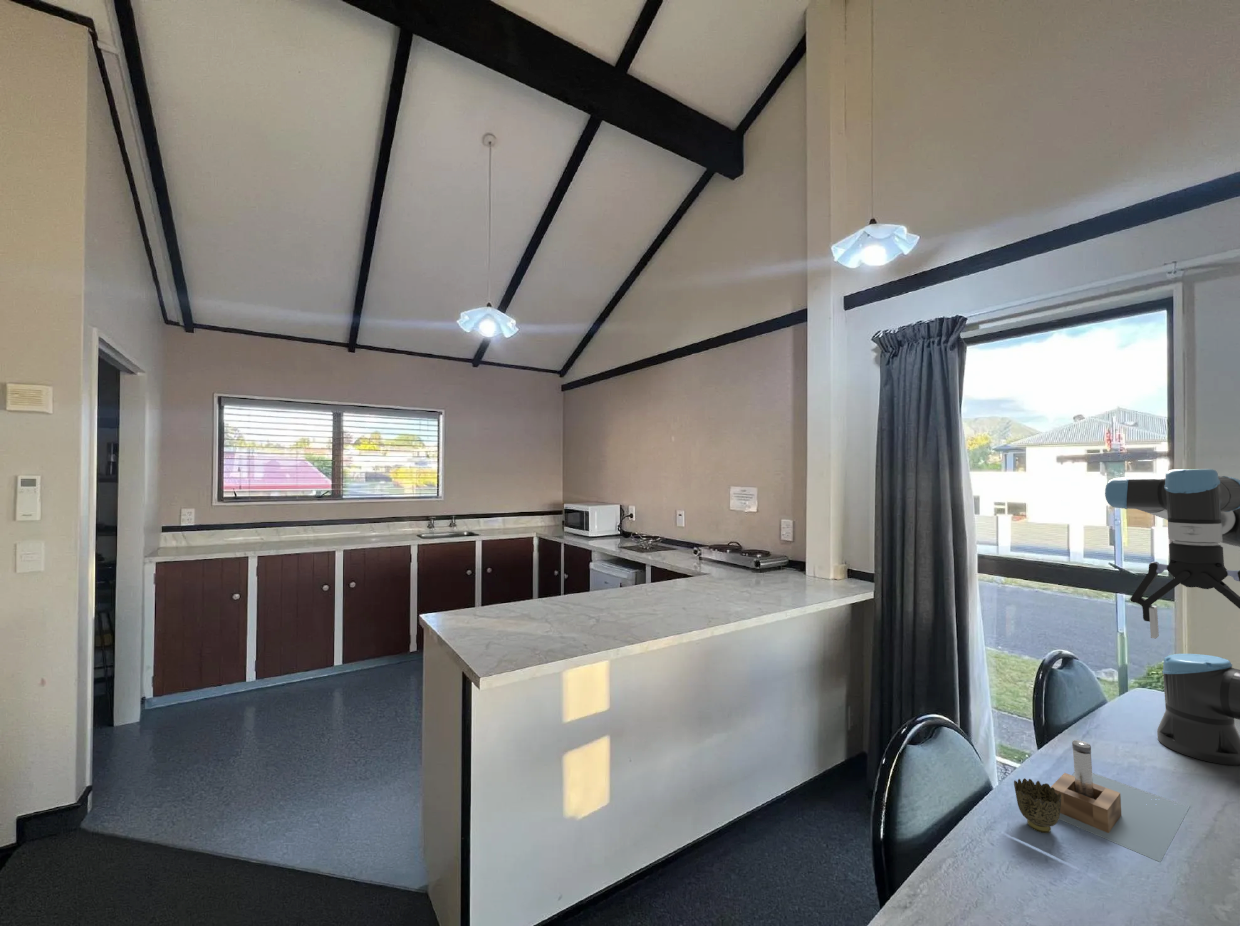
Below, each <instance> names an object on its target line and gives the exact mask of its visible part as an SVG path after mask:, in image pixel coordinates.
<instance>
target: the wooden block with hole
mask: <svg viewBox="0 0 1240 926" xmlns="http://www.w3.org/2000/svg"><path fill="white" fill-rule="evenodd" d="M1050 787H1051V788H1052V787H1053V788H1054V790H1055V793H1056V794H1057V795H1058V794H1059V793H1060V794H1061V796H1062V798H1061V808H1060V813H1061V814H1064V815H1066V816H1069V817H1071V818H1073V819H1076V820H1078V821H1081V822H1083V823H1085V824H1088V825H1090V826H1093V827H1095V828H1097V829H1100V830H1102V831H1105V832H1107V833H1109V832H1110V831H1111V829H1112V828H1113V826H1114V825H1115V824H1116V822H1117V821H1118V819H1119V818H1120V817H1121V796H1120V793H1119V792H1116V791H1114V790H1111V789H1108V788H1105V787H1103V786H1100V785H1097V784H1094V783H1093V792H1094V799H1092V798H1089V797H1087V796H1084V795H1082V794H1079V793H1076V788H1075V776H1072V774H1068V773H1066V772H1064V773H1063V774H1062V775H1060V777H1059V778H1058V779H1057V780H1056V781H1055V782H1054V783H1053V784H1052V785H1051V786H1050Z"/></svg>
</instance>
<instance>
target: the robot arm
mask: <svg viewBox="0 0 1240 926" xmlns="http://www.w3.org/2000/svg"><path fill="white" fill-rule="evenodd" d="M1104 497H1105V500H1106V502H1107V504H1108V505H1109V506H1110V507H1112V508H1114V509H1115V508H1117V509H1124V510H1129V509H1131V510H1132V509H1133V510H1138V511H1142V512H1145V513H1147V514H1150V515H1153V516H1155V517H1158V518H1161V519H1163V520H1166V521H1167V532H1168V536H1167V537H1168V540H1170V541H1172V542H1170V543H1169V544H1168V548H1169V549H1168V551H1169V563H1168V564H1165V563H1159V562H1158V561H1152V562H1150V563H1149V564H1148V571H1147V572H1148V573H1147V574H1146V575H1145V577H1144V578H1143V579H1142V581H1141V582H1140V583H1139V585H1138V587H1137V588H1136V590H1135V591H1134V593H1133V594H1132V595H1131V596H1130V601H1131V602H1132V603H1135V604H1138V605H1140V606H1141V608H1142V619H1143V621H1144V622H1149V629H1150V631H1149V632H1150V638H1151V639H1153V640H1154V639H1158V638H1159V636H1160V634H1159V633H1160V632H1159V620H1158V619H1159V618H1158V617H1159V615H1158V606H1156V605H1153V604H1154V603H1156V602H1157V601H1158V600H1159V599H1161V598H1162V597H1164V596H1165V595H1166V594H1167V593H1169V592H1170V591H1172V590H1173V589H1175V588H1176V587H1177V586H1179V585H1182V586H1184V587H1185V588H1199V589H1202V590H1210V589H1213V588H1214V589H1215V590H1216V591H1217V592H1218V593H1220V594H1221V595H1223V597H1225V598H1226V599H1227V600H1228V601H1230V602H1231V603H1232V604H1233V605H1234V606H1236V607H1237V608H1238V609H1239V610H1240V596H1239V595H1238V594H1237V593H1236V592H1235V591H1234V590H1232V589H1231V588H1230V586H1229V585H1227V584H1226V583H1225V582H1223V580H1224V579H1226V578H1227V577H1228V576H1229V577H1231V578H1232V579H1233V580H1234V581H1236V582H1240V569H1227V568H1226V566H1225V560H1224V559H1225V558H1224V547H1223V546H1222V545H1221V544H1219V543H1222V544H1224V545H1225V544H1226V545H1230V546H1234V547H1238V548H1240V479H1239V478H1236V477H1232V476H1226V475H1223V476H1222V475H1220V476H1219V472H1218V471H1217V470H1216V469H1213V468H1194V469H1193V468H1192V469H1191V468H1189V469H1187V468H1186V469H1170V470H1168V471H1167V472H1166V473H1165V477H1130V476H1127V477H1115V478H1112V479H1110V480H1108V481H1107V483H1106V485H1105V490H1104ZM1164 571H1167V572H1168V573H1170V575H1171V576H1172V577H1173V578H1172V579H1171V580H1169V581H1168V582H1167V583H1166V584H1164V585H1163V586H1162V587H1161V588H1159V589H1158V590H1157V591H1155V592H1154V593H1152V594H1151V595H1150V596H1149V597H1147V598H1143V597H1144V596H1145V594H1146V592H1147V591H1148V590H1149V588H1150V586H1151V585H1152V584H1153V583H1154V580H1156V578H1157V576H1158V575H1159V574H1162V573H1164ZM1162 663H1163V666H1162V667H1163V668H1162V675H1163V678H1162V679H1163V688H1164V689H1163V690H1164V703H1165V704H1164V705H1165V711H1164V712H1163V716H1162V718H1161V720H1160V722H1159V724H1158V726H1157V731H1156V733H1157V735H1156V736H1157V741H1159V743H1161V744H1162V745H1163V746H1165V747H1166V748H1168V749H1169V750H1172V751H1174V752H1176V753H1180V754H1181V755H1184V756H1187V757H1190V758H1193V759H1197V760H1200V761H1205V762H1209V763H1212V764H1213V763H1214V764H1219V765H1220V764H1221V765H1230V766H1240V734H1239V732H1238V729H1237V728H1236V724H1235V719H1236V720H1239V721H1240V669H1237V668H1234V667H1233V664H1232V663H1231V661H1230V660H1229V659H1227V658H1223V657H1220V656H1216V655H1208V654H1202V653H1201V654H1200V653H1173V654H1169V655H1167V656H1165V657H1164V658H1163V662H1162Z"/></svg>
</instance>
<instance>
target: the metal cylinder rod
mask: <svg viewBox="0 0 1240 926" xmlns="http://www.w3.org/2000/svg"><path fill="white" fill-rule="evenodd" d="M1071 744H1072V745H1071V746H1072V755H1073V757H1072V758H1073V769H1074V772H1073V773H1075V788H1076V793H1079V794H1082V795H1084V796H1087V797H1089V798H1092V799H1094V792H1093V777H1092V773H1093V765H1092V746H1091V744H1090V743H1088V742H1087V741H1084V740H1078V739H1073V740H1072V741H1071Z"/></svg>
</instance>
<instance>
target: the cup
mask: <svg viewBox="0 0 1240 926" xmlns="http://www.w3.org/2000/svg"><path fill="white" fill-rule="evenodd" d="M1013 785H1014V791H1015V796H1016V797H1015V798H1016V802H1017V806H1018V809H1019V811H1020V813H1021V814H1022V816H1023V818H1024V819H1026V821H1027V822H1026V823H1027V825H1028V826H1029V827H1030V828H1031V829H1032V830H1034V831H1035V832H1039V833H1041V834H1048V833H1050V832H1051V830H1052V827H1054V826H1055V825H1057V824H1058V822H1059V821H1060V820H1059V816H1060V808H1061V798H1062V796H1061V794H1060V793H1059V794H1058V795H1057V794H1056V793H1055V790H1054V788H1053V787H1052V788H1051V786H1050V784H1049V783H1046V782H1045V783H1042V784H1041V782H1040V780H1037V781H1036V782H1034V781H1033V780H1032V779H1031V778H1029V779H1026V777H1025V778H1023V779H1022V780H1021V779H1020V778H1018V780H1016V779H1015V780H1014V781H1013Z"/></svg>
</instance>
